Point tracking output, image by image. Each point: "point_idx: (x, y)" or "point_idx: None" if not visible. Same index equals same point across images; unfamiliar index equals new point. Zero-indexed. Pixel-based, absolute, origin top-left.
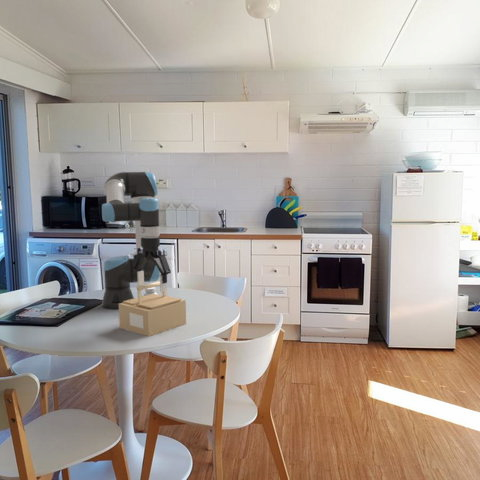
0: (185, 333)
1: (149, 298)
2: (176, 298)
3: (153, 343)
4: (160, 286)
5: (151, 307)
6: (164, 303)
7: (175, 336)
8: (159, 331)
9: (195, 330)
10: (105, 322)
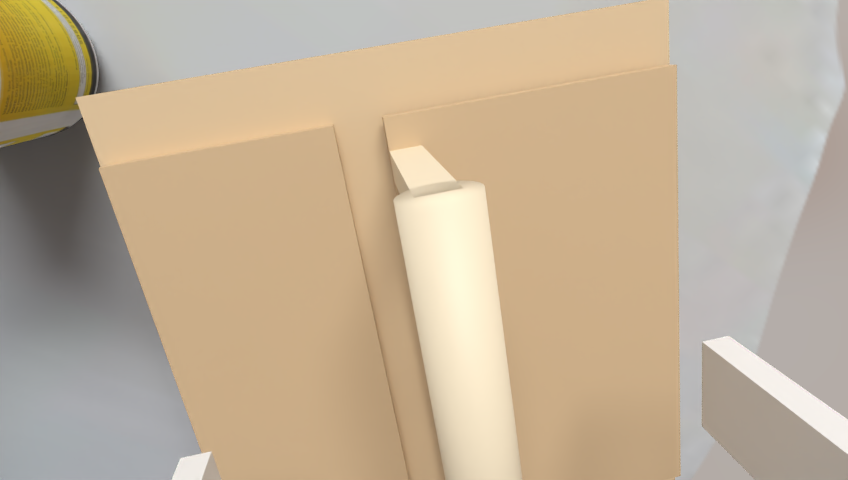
0: (715, 169)
1: (327, 328)
2: (607, 99)
3: (692, 402)
4: (763, 475)
5: (679, 474)
6: (669, 325)
7: (705, 252)
8: None
9: (727, 74)
10: (83, 468)
